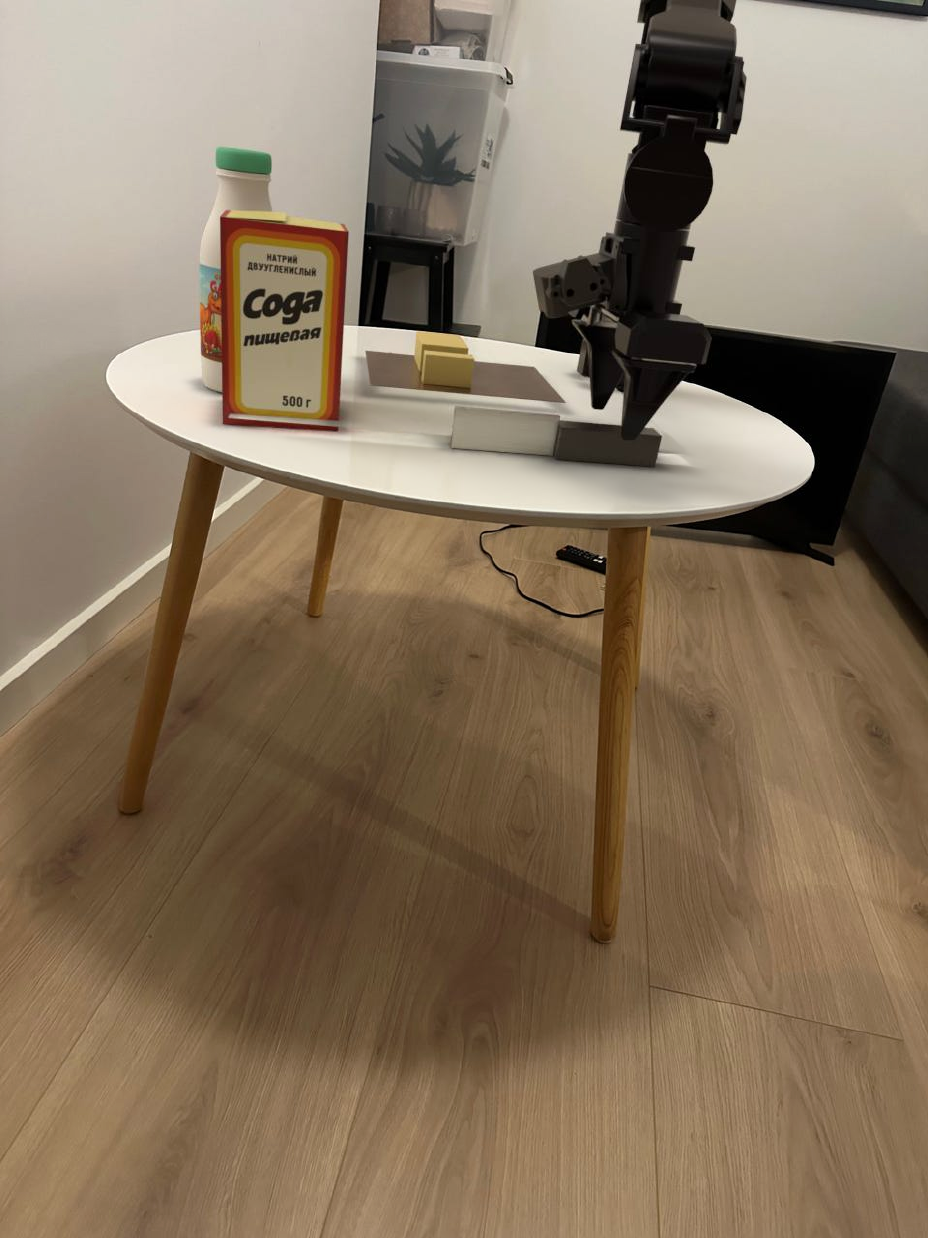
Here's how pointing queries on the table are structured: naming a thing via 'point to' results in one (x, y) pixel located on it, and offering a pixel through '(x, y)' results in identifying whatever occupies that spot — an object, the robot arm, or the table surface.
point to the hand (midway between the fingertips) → (611, 423)
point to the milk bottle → (240, 191)
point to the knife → (550, 437)
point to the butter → (437, 345)
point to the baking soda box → (282, 317)
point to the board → (484, 382)
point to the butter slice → (447, 369)
